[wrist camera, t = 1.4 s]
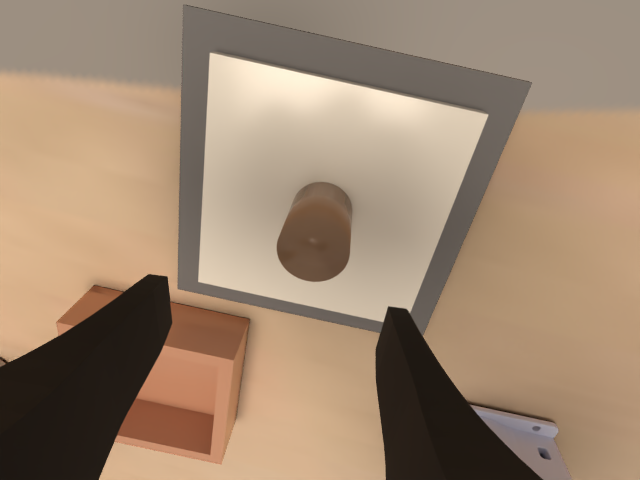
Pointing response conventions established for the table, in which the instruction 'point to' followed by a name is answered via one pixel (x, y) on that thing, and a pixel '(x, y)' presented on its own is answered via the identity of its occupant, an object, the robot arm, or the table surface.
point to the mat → (352, 65)
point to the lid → (326, 186)
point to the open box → (182, 381)
